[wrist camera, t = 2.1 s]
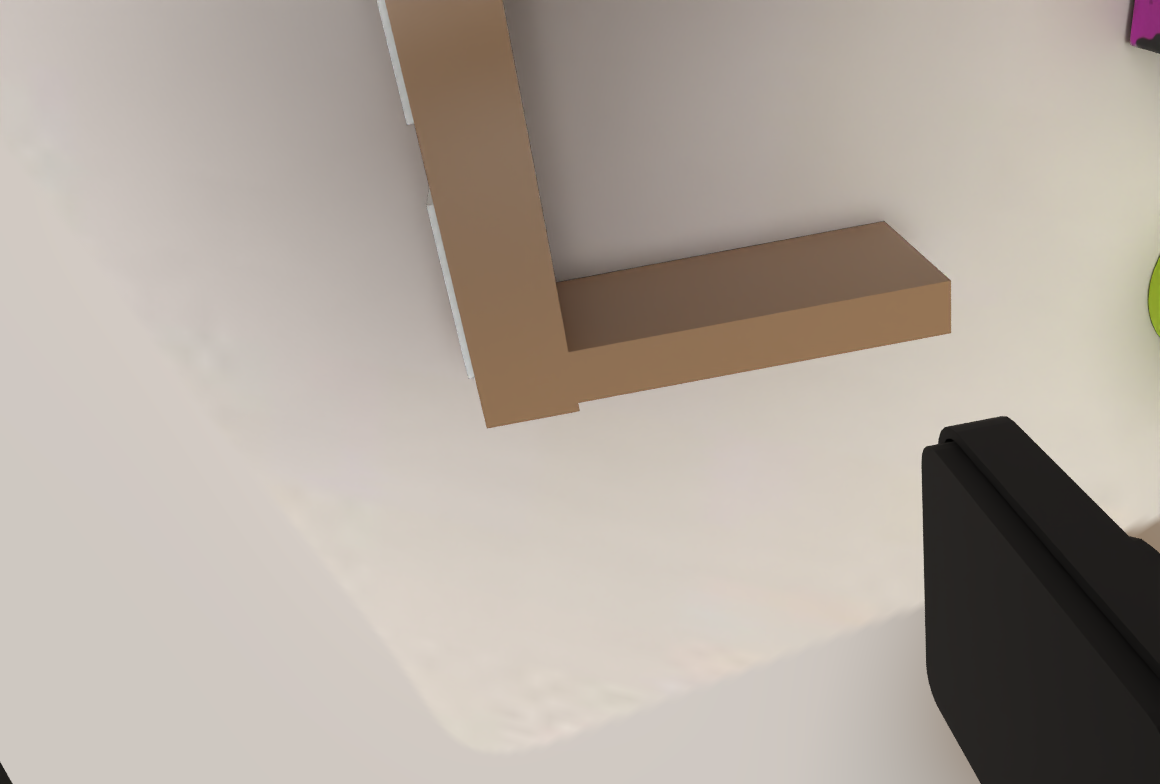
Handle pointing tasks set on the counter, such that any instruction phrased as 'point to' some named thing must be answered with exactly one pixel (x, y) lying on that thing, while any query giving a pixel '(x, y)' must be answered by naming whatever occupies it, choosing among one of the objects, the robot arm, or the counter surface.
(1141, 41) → the candy bar box
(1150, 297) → the soap dispenser
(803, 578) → the counter surface
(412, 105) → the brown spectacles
